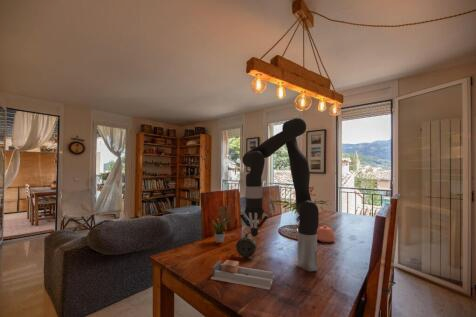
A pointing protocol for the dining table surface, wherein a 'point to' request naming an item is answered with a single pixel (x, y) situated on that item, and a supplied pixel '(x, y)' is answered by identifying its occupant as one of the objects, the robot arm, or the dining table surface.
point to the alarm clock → (246, 246)
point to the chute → (244, 276)
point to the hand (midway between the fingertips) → (254, 236)
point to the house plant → (219, 231)
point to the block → (231, 266)
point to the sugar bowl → (325, 234)
